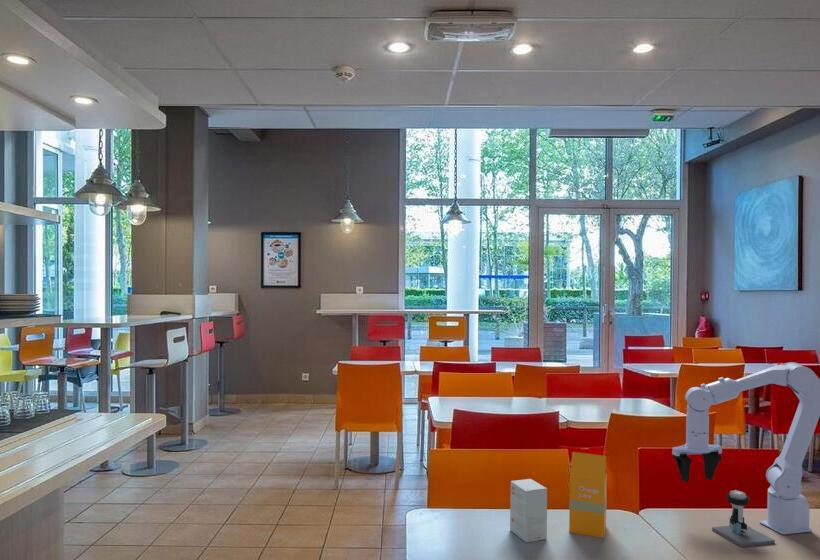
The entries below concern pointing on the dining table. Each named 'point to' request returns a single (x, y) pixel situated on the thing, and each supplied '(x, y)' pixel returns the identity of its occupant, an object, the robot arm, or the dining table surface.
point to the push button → (737, 511)
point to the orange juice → (588, 494)
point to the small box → (528, 510)
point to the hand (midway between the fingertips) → (696, 479)
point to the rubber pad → (740, 539)
